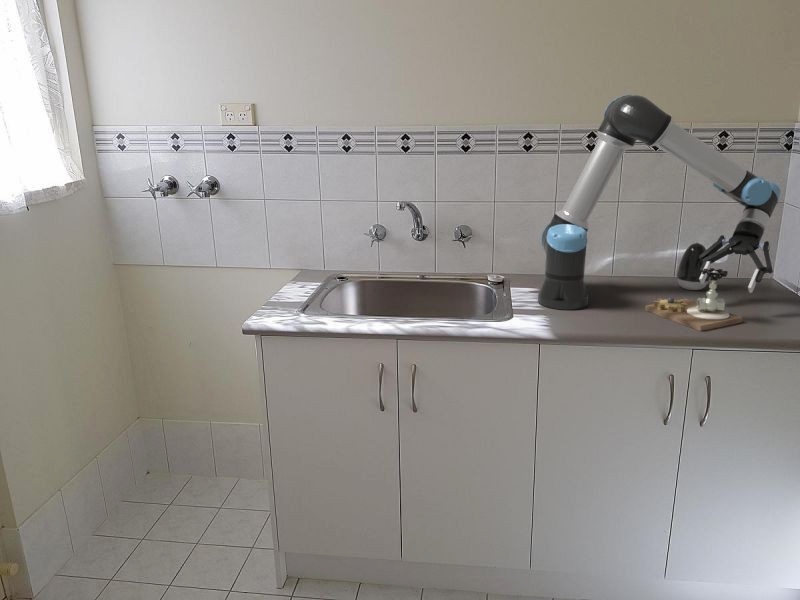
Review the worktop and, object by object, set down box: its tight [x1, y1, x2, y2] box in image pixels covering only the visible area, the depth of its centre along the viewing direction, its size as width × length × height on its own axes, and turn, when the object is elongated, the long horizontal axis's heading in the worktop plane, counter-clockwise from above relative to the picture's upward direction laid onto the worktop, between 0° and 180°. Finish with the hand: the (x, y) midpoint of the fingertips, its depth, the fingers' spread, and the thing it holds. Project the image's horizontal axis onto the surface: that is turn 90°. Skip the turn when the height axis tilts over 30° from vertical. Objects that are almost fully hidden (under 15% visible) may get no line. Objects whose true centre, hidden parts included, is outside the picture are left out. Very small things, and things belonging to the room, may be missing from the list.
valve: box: [696, 267, 729, 312], centre depth 180 cm, size 7×7×12 cm
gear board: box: [644, 297, 744, 332], centre depth 184 cm, size 20×16×4 cm
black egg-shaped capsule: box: [675, 242, 711, 291], centre depth 209 cm, size 10×10×15 cm
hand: (724, 285), depth 187 cm, fingers open, 13 cm apart
